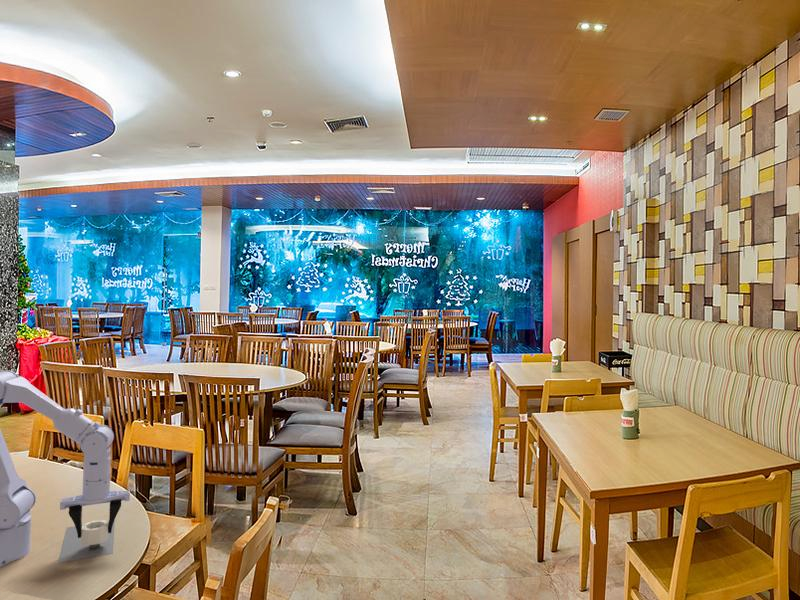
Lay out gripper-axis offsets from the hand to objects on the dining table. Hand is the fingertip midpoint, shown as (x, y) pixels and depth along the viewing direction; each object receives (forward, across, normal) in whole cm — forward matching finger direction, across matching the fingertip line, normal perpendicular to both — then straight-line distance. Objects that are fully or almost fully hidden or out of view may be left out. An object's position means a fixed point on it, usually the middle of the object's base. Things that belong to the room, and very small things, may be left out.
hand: (95, 533), depth 126 cm
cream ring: (+1, 0, 0) cm, 1 cm away
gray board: (+4, +2, -5) cm, 7 cm away
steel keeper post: (+3, 0, 0) cm, 3 cm away
